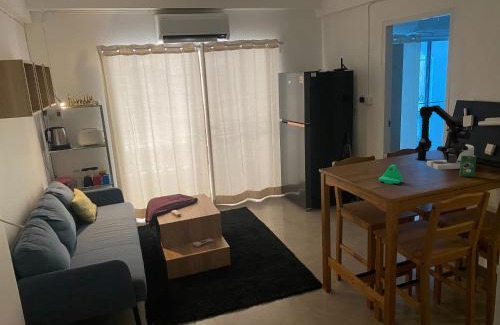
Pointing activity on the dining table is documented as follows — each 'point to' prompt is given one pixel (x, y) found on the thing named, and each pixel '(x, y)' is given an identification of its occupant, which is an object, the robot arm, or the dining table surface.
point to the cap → (452, 158)
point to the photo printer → (467, 152)
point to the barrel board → (443, 164)
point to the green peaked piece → (391, 175)
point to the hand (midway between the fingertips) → (451, 160)
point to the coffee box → (467, 166)
